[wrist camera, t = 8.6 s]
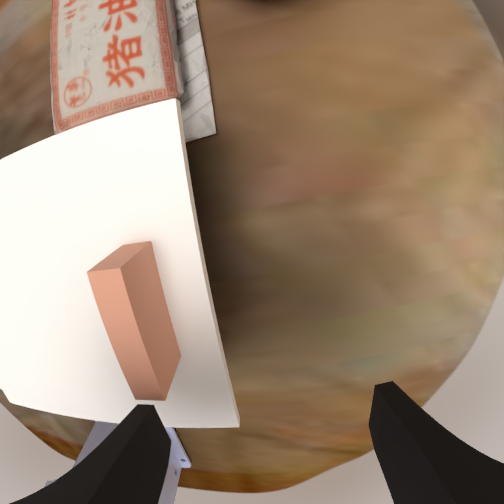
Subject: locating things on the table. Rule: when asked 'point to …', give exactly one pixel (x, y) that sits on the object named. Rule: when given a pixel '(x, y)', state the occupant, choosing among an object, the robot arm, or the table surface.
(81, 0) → the packaged product
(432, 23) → the table surface
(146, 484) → the robot arm
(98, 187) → the carton lid
